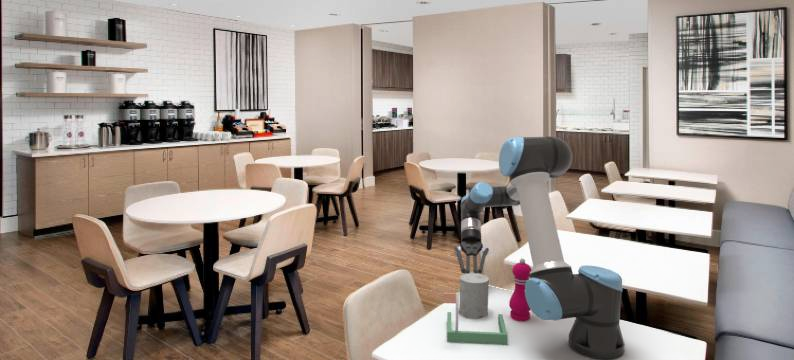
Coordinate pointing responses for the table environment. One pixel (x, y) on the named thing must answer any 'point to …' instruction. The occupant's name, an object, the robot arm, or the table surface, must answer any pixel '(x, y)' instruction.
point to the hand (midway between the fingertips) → (472, 291)
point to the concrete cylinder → (474, 295)
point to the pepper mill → (520, 292)
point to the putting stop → (471, 335)
